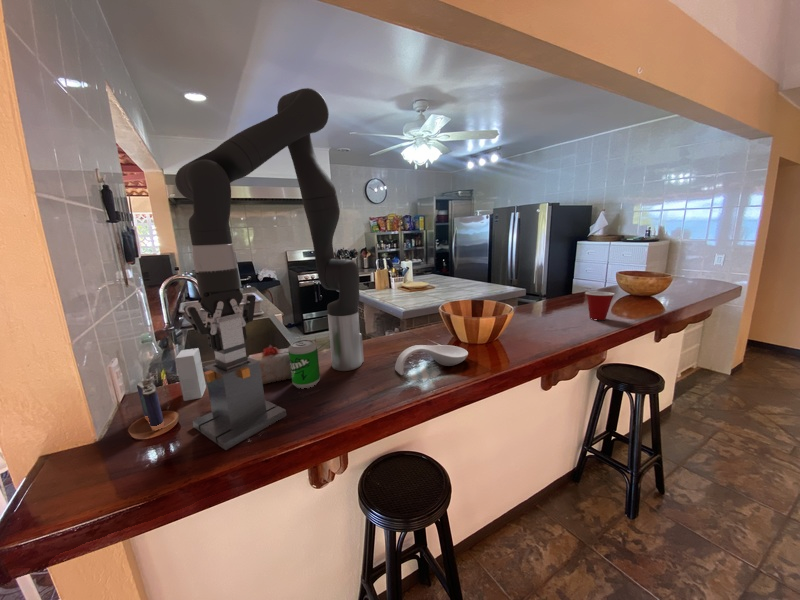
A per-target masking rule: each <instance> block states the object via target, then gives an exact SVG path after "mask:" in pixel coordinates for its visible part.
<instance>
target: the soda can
mask: <svg viewBox="0 0 800 600" xmlns="http://www.w3.org/2000/svg"><path fill="white" fill-rule="evenodd" d="M287 348H288V351H289V359H290V368H291V376H292V379H291V383H292V385H293V386H294V387H296V388H297V389H300V388H301V389H302V390H305V389H304V388H307V389H311V388H313V387H315V386H317V384H318V382H319V381H320V380H321V374H320V364H319V363H320V362H319V352H318V345H317V343H315V342H314V341H313V340H312V339H300V340H296V341H293V342H292V343H291V344H290V345H289V346H288V347H287ZM314 385H315V386H314ZM310 387H311V388H310ZM301 389H300V390H301Z"/></svg>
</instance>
